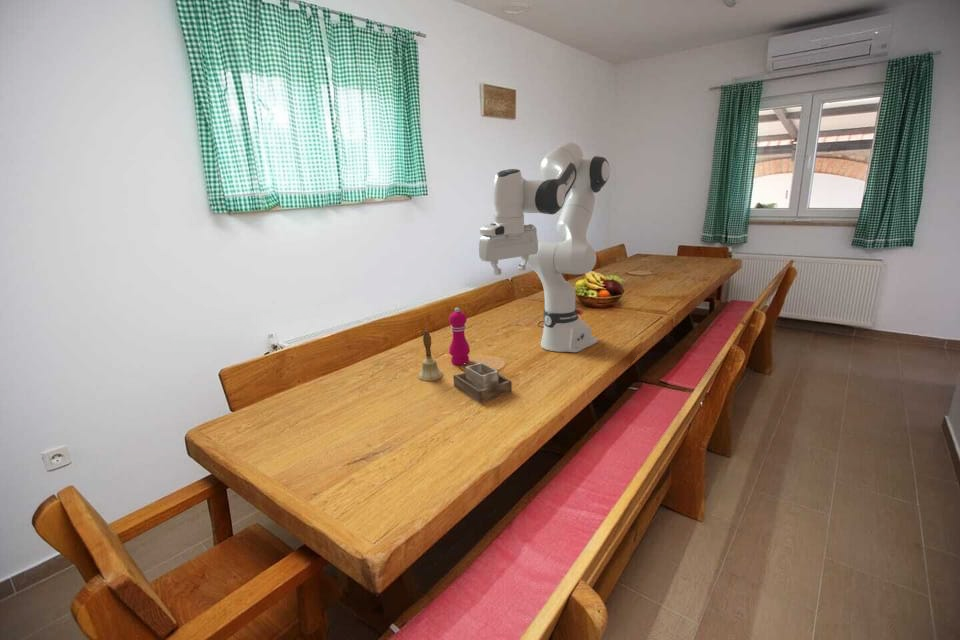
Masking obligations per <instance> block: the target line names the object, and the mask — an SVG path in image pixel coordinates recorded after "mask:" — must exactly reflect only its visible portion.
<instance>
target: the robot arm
mask: <svg viewBox="0 0 960 640" xmlns="http://www.w3.org/2000/svg"><path fill="white" fill-rule="evenodd" d="M609 164H610V163H609V161H608V160H607V158H606V157H603V156H599V155H597V156H596V155H595V156H584V154H583V150H582V148H581V147H580V146H579V145H578V144H577V143H574V142H569V141H568V142H565V143H562V144H560V145H558V146H555V147H554V148H553V149H551V150H550V151H549V152H548V153H547V154H546V155H545V156H544V157H543V159H541V163H540V167H539V168H540V175H541V177H542V178H543V179H535V180H534V179H533V180H531V179H530V180H527V179H525V178H524V177H523V174H522V171H521V170H520V169H517V168H510V169H509V168H508V169H503V170H500V171H498V172H497V173H496V174H495V177H494V182H493V205H494V215H493V216H494V217H493V218H494V219H493V220H492V221H490V222H489V223H487V224H485V225H483V226H481V227H480V229H479V232H480V233H479V234H480V235H481V237H480V238H479V241H478V242H479V243H478V255H479V259H480V260H481V261H482V262H487V263H488V262H489V263H490V265H491V267H492V268H493V274H494V276H499V275H502V268H499V266H498V264H499V261H501V260H507V259H513V258H518V257H519V258H521V259H522V260H521V262H520V264H519V263H518V270H519V271H526V269H527V264H528V266H529V268H531V269H532V270H533V271H534V272H535V274H537V276H538V278H539V280H540V282H541V285H542V287H543V288H542V289H543V293H544V309H543V330H542V336H541V342H540V347H541V348H542V349H543V350H544V349H545V350H547V351H550V352H557V353H560V352H561V353H563V352H565V353H566V352H567V353H569V352H570V353H578V352H580V351H583V350H584V349H586V348H589V347H591V346H593V345H595V344H597V343H598V342H599V341H598V338H597V337H595V336H593V335H592V329H591V326H590V325H589V324H587V323H586V322H584V321H583V320H582V319H581V318H579V315H580V316H582V315H583V314H584V309H581V308H577V309H576V290H575V287H574V285H572V284H571V283H569V282H568V281H567V280H566V279H565V278H564V276H563V274H566V275H582V274H583V275H585V274H589V273H590V272H591V271H592V270H593V269H594V268H595V266H596V264H597V254H596V251H595V249H594V248H593V246H592V245H590V244H589V243H588V240H587V232H588V229H589V224H590V222H591V220H592V216H593V212H594V209H595V204H596V203H595V202H596V196H595V194H596V193H599V192H600V191H601V190H602V188H603V187H604V186H605V185H606V184H607V182H608V181H609V177H610V169H611V168H610V165H609ZM570 192H571V193H570ZM569 193H570V194H569ZM568 194H569V196H568ZM567 196H568V197H567ZM566 198H567V199H566ZM561 209H562V210H561ZM560 210H561V211H560ZM559 211H560V214H559V218H558V220H557V223H556V231H557V233H558V235H559V236H560V238H562V239H564V241H559V242H558V241H539V240H538V235H537V231H538V230H537V227H536V226H535V225H534V224H532V223H528V224H525V214H526V213H527V214H544V215H555V214H557V213H558V212H559Z"/></svg>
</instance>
